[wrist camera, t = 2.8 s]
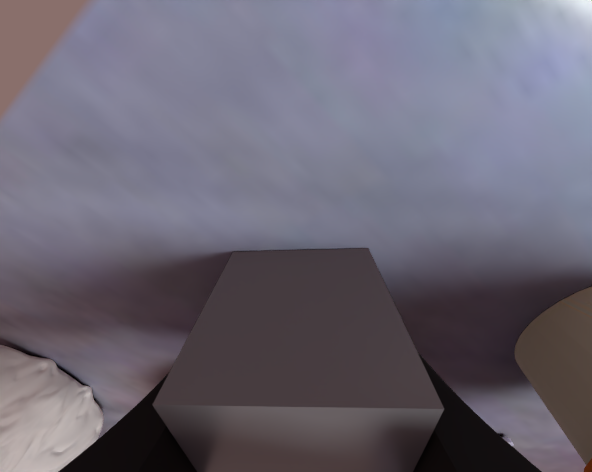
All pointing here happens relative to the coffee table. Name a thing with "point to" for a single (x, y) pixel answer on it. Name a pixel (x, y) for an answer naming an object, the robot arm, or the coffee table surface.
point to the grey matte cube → (300, 370)
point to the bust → (42, 414)
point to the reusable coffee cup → (563, 366)
